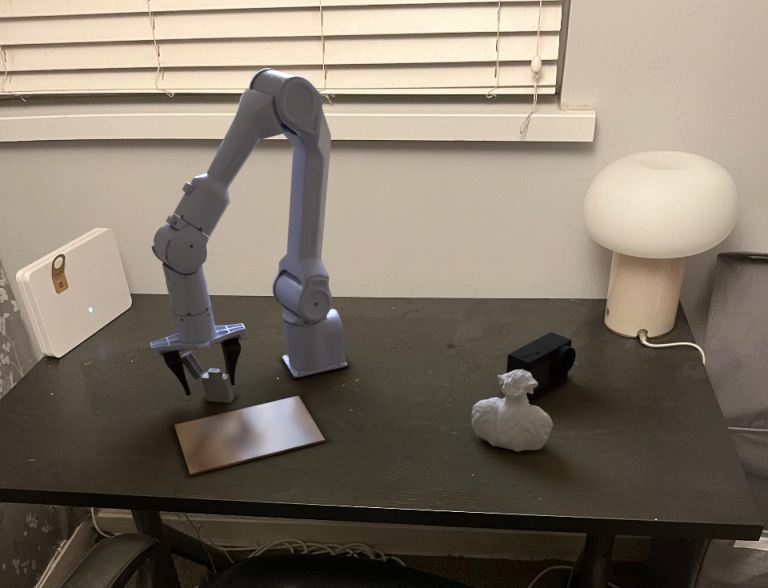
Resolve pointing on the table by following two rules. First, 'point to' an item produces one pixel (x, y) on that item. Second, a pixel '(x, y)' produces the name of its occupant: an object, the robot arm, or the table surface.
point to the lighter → (210, 380)
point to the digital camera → (544, 361)
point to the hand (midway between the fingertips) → (209, 387)
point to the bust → (512, 416)
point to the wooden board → (246, 434)
